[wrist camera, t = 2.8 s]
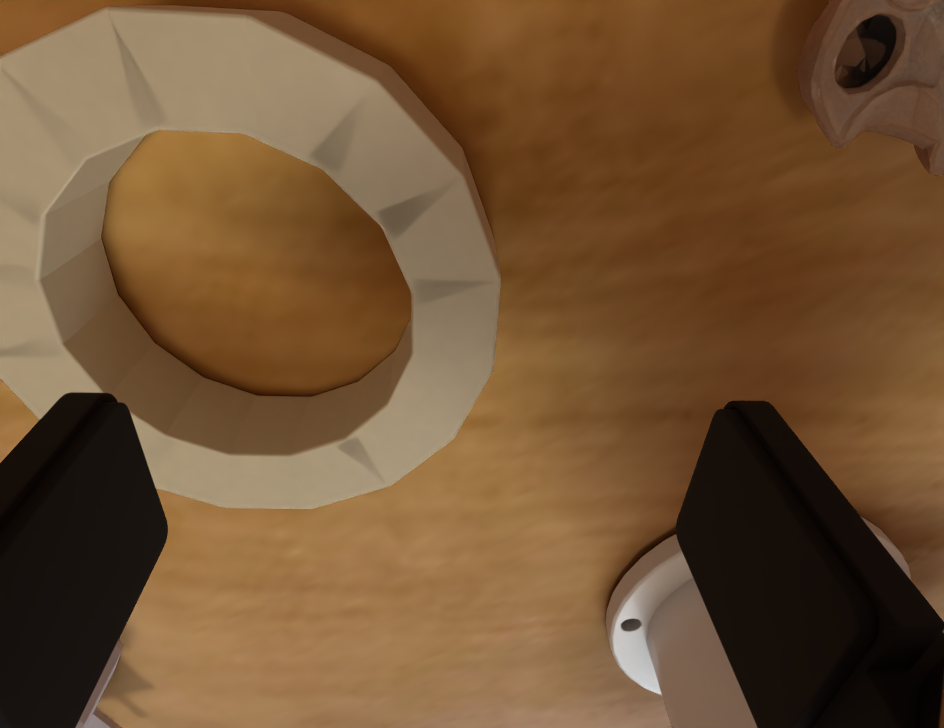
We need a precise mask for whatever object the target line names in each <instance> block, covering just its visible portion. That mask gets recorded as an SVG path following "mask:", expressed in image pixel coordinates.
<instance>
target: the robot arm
mask: <svg viewBox="0 0 944 728" xmlns="http://www.w3.org/2000/svg"><path fill="white" fill-rule="evenodd" d="M167 533H168V525H167V520H166V517H165V514H164V511H163V508H162V505H161V502H160V499H159V496H158V493H157V491H156V488H155V485H154V482H153V479H152V476H151V473H150V470H149V467H148V464H147V461H146V458H145V455H144V452H143V449H142V446H141V443H140V440H139V437H138V434H137V431H136V428H135V425H134V423H133V420H132V417H131V414H130V411H129V409H128V407H127V405H126V404H125V403H122V402H118V401H117V399H116V398H115V397H114V396H113V395H112V394H110V393H86V392H70V393H66V394H64V395H63V396H62V397H61V398H60V399H59V400H58V401H57V402H56V403H55V404H54V405H53V406H52V407H51V408H50V409H49V411H48V412H47V413H46V414H45V415H44V416H43V417H42V418H41V419H40V420H39V422H38V423H37V424H36V425H35V426H34V427H33V428H32V429H31V430H30V431H29V432H28V434H27V435H26V436H25V437H24V438H23V439H22V440H21V441H20V442H19V443H18V445H17V446H16V447H15V448H14V449H13V450H12V451H11V452H10V453H9V454H8V455H7V457H6V458H5V459H4V460H3V461H2V462H1V463H0V728H76V726H77V724H78V722H79V720H80V717H81V715H82V713H83V711H84V709H85V707H86V705H87V703H88V701H89V699H90V697H91V695H92V693H93V691H94V689H95V687H96V685H97V683H98V681H99V679H100V677H101V674H102V672H103V670H104V668H105V666H106V664H107V662H108V660H109V658H110V656H111V654H112V652H113V650H114V648H115V646H116V644H117V642H118V640H119V638H120V636H121V633H122V631H123V629H124V627H125V625H126V623H127V621H128V619H129V617H130V615H131V613H132V611H133V609H134V607H135V605H136V603H137V601H138V599H139V597H140V595H141V593H142V590H143V588H144V586H145V584H146V582H147V580H148V578H149V576H150V574H151V572H152V570H153V568H154V566H155V564H156V562H157V560H158V558H159V556H160V554H161V552H162V549H163V547H164V545H165V543H166V539H167ZM606 630H607V634H608V638H609V643H610V647H611V652H612V654H613V656H614V658H615V660H616V662H617V664H618V666H619V667H620V668H621V669H622V671H623V672H624V673H625V674H626V675H627V676H628V677H629V678H630V679H632V680H633V681H635V682H636V683H638V684H639V685H641V686H642V687H644V688H645V689H648V690H650V691H652V692H655V693H657V694H659V695H662V697H663V700H664V704H665V707H666V710H667V714H668V717H669V720H670V723H671V727H672V728H944V622H943V620H942V619H941V618H940V617H939V615H938V614H937V613H936V612H935V610H934V609H933V608H932V607H931V605H930V604H929V603H928V601H927V600H926V599H925V598H924V596H923V595H922V594H921V593H920V591H919V590H918V589H917V588H916V586H915V585H914V584H913V582H912V581H911V576H910V570H909V567H908V565H907V563H906V561H905V560H904V558H903V556H902V554H901V553H900V551H899V550H898V549H897V548H896V547H895V545H894V544H893V543H892V542H891V541H890V540H889V538H888V537H887V536H886V535H885V534H884V533H883V532H882V530H881V529H879V528H878V527H876V526H875V525H873V524H872V523H870V522H869V521H867V520H866V519H864V518H863V517H860V515H859V514H858V513H857V512H856V510H855V509H854V508H853V507H852V505H851V504H850V503H849V502H848V500H847V499H846V498H845V497H844V495H843V494H842V493H841V491H840V490H839V489H838V488H837V486H836V485H835V484H834V483H833V481H832V480H831V479H830V478H829V476H828V475H827V474H826V472H825V471H824V470H823V469H822V467H821V466H820V465H819V464H818V462H817V461H816V460H815V459H814V457H813V456H812V455H811V454H810V452H809V451H808V450H807V448H806V447H805V446H804V445H803V443H802V442H801V441H800V440H799V438H798V437H797V436H796V435H795V433H794V432H793V431H792V430H791V428H790V427H789V426H788V424H787V423H786V422H785V421H784V419H783V418H782V417H781V416H780V414H779V413H778V412H777V411H776V409H775V408H774V407H773V406H772V405H771V404H770V403H769V402H766V401H730V402H728V403H727V404H726V405H725V407H724V409H719V410H717V411H716V412H715V414H714V416H713V418H712V421H711V424H710V427H709V430H708V433H707V436H706V439H705V441H704V444H703V447H702V450H701V453H700V456H699V459H698V461H697V464H696V467H695V470H694V473H693V476H692V479H691V482H690V484H689V487H688V490H687V493H686V496H685V499H684V502H683V505H682V507H681V510H680V513H679V516H678V519H677V523H676V534H675V535H673V536H671V537H669V538H668V539H666V540H664V541H663V542H661V543H660V544H659V545H657V546H656V547H655V548H653V549H652V550H650V551H649V552H648V553H646V554H645V555H644V556H642V557H641V558H640V559H639V560H638V561H637V563H636V564H635V565H634V566H633V567H632V568H631V569H630V570H629V571H628V572H627V573H626V574H625V575H624V576H623V578H622V579H621V581H620V582H619V584H618V586H617V587H616V589H615V590H614V592H613V594H612V596H611V599H610V602H609V605H608V608H607V613H606Z"/></svg>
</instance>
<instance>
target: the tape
mask: <svg viewBox="0 0 944 728" xmlns="http://www.w3.org/2000/svg"><path fill="white" fill-rule="evenodd" d="M157 130H171V131H193V132H214V133H236V134H244V135H247V136H249V137H251V138H253V139H256V140H258V141H260V142H262V143H264V144H267V145H269V146H271V147H273V148H276V149H278V150H280V151H282V152H285V153H287V154H289V155H291V156H294V157H296V158H298V159H300V160H302V161H305V162H307V163H309V164H311V165H314V166H316V167H318V168H320V169H322V170H323V171H324V172H325V173H327V174H328V175H329V176H330V177H331V178H332V179H333V180H334V181H335V182H336V183H337V184H338V185H339V186H340V187H341V188H342V189H343V190H344V191H345V192H346V193H347V194H348V195H349V196H350V197H351V198H352V199H353V200H354V201H355V202H356V203H357V204H358V205H359V206H360V207H361V208H362V209H363V210H364V211H366V212H367V213H368V214H369V215H370V216H371V217H372V218H373V219H374V220H375V221H376V222H377V223H378V224H379V225H380V226H381V227H382V229H383V231H384V233H385V236H386V238H387V240H388V242H389V244H390V247H391V249H392V251H393V253H394V255H395V258H396V260H397V262H398V264H399V266H400V269H401V271H402V273H403V275H404V277H405V280H406V282H407V284H408V286H409V288H410V291H411V318H410V320H409V323H408V325H407V327H406V329H405V331H404V333H403V335H402V337H401V340H400V342H399V344H398V346H397V348H396V350H395V351H394V352H393V353H392V354H391V355H389V356H388V357H387V358H386V359H385V360H383V361H382V362H381V363H380V364H379V365H377V366H376V367H375V368H374V369H373V370H372V371H370V372H369V373H368V374H367V375H366V376H364V377H363V378H362V379H361V380H360V381H359V382H356V383H353V384H349V385H346V386H343V387H340V388H337V389H334V390H331V391H328V392H325V393H322V394H319V395H316V396H312V397H293V396H257V395H254V394H251V393H248V392H245V391H242V390H239V389H236V388H233V387H230V386H227V385H225V384H222V383H219V382H216V381H213V380H210V379H207V378H204V377H202V376H201V375H199V374H198V373H196V372H195V371H194V370H192V369H191V368H189V367H188V366H186V365H185V364H184V363H182V362H181V361H179V360H178V359H177V358H175V357H174V356H172V355H171V354H170V353H168V352H167V351H165V350H164V349H163V348H161V347H160V346H158V345H157V344H155V343H154V342H153V340H152V339H151V338H150V336H149V335H148V334H147V332H146V331H145V330H144V328H143V327H142V326H141V324H140V323H139V322H138V320H137V319H136V318H135V316H134V315H133V314H132V312H131V311H130V310H129V308H128V307H127V306H126V304H125V303H124V302H123V300H122V299H121V298H120V296H119V295H118V293H117V290H116V287H115V283H114V280H113V276H112V273H111V270H110V266H109V263H108V260H107V256H106V253H105V249H104V246H103V243H102V239H101V234H102V227H103V221H104V214H105V208H106V201H107V194H108V188H109V182H110V180H111V179H112V178H113V177H114V175H115V174H116V173H117V171H118V170H119V169H120V168H121V166H122V165H123V164H124V162H125V161H126V160H127V159H128V157H129V156H130V155H131V153H132V152H133V151H134V150H135V148H136V147H137V146H138V144H139V143H140V142H141V141H142V139H143V138H144V137H145V135H147V134H150V133H152V132H155V131H157ZM500 289H501V275H500V269H499V264H498V258H497V253H496V247H495V242H494V237H493V234H492V231H491V228H490V225H489V222H488V220H487V217H486V214H485V211H484V208H483V205H482V202H481V200H480V197H479V194H478V191H477V188H476V185H475V182H474V180H473V177H472V174H471V171H470V168H469V165H468V162H467V160H466V157H465V154H464V151H463V149H462V147H461V146H460V145H459V144H458V142H457V141H456V140H455V139H454V138H453V137H452V136H451V134H450V133H449V132H448V131H447V130H446V129H445V128H444V126H443V125H442V124H441V123H440V122H439V121H438V120H437V118H436V117H435V116H434V115H433V114H432V113H431V112H430V111H429V109H428V108H427V107H426V106H425V105H424V104H423V103H422V101H421V100H420V99H419V98H418V97H417V96H416V95H415V93H414V92H413V91H412V90H411V89H410V88H409V87H408V85H407V84H406V83H405V82H404V81H403V80H402V79H401V77H400V76H399V75H398V74H397V73H396V72H395V71H394V70H393V68H392V67H391V66H389V65H388V64H386V63H384V62H382V61H380V60H378V59H376V58H374V57H372V56H370V55H368V54H366V53H364V52H362V51H360V50H358V49H356V48H354V47H352V46H351V45H349V44H347V43H345V42H343V41H341V40H339V39H337V38H335V37H333V36H331V35H329V34H327V33H325V32H323V31H321V30H319V29H317V28H315V27H313V26H311V25H309V24H307V23H305V22H303V21H301V20H299V19H297V18H296V17H294V16H292V15H290V14H288V13H283V12H281V11H264V10H246V9H229V8H212V7H194V6H177V5H149V6H110V7H104V8H102V9H99V10H97V11H95V12H93V13H91V14H89V15H87V16H84V17H82V18H80V19H78V20H76V21H74V22H72V23H69V24H67V25H65V26H63V27H61V28H59V29H56V30H54V31H52V32H50V33H48V34H46V35H44V36H41V37H39V38H37V39H35V40H33V41H31V42H29V43H26V44H24V45H22V46H20V47H18V48H16V49H14V50H11V51H9V52H7V53H5V54H3V55H1V56H0V379H1V380H2V381H3V382H4V383H5V384H6V385H7V386H8V387H9V388H10V389H11V390H12V391H13V392H14V394H15V395H16V396H17V397H18V398H19V399H20V400H21V401H22V402H23V403H24V404H25V405H26V406H27V407H28V408H29V409H30V410H31V411H32V412H33V413H34V414H35V416H36V417H37V418H38V419H39V420H40V419H41V418H42V417H43V416H44V415H45V414H46V413H47V412H48V411H49V409H50V408H51V407H52V406H53V405H54V404H55V403H56V402H57V401H58V400H59V399H60V398H61V397H62V396H63V395H64V394H66V393H70V392H86V393H110V394H112V395H113V396H114V397H115V398H116V399H117V401H118V402H122V403H125V404H126V405H127V407H128V409H129V411H130V414H131V417H132V420H133V423H134V425H135V428H136V431H137V434H138V437H139V440H140V443H141V446H142V449H143V452H144V455H145V458H146V461H147V464H148V467H149V470H150V473H151V476H152V479H153V482H154V485H155V488H157V489H160V490H164V491H167V492H171V493H174V494H178V495H181V496H185V497H188V498H192V499H195V500H199V501H202V502H206V503H209V504H213V505H217V506H220V507H224V508H267V509H313V508H317V507H320V506H324V505H327V504H331V503H334V502H337V501H341V500H344V499H348V498H351V497H355V496H358V495H362V494H365V493H368V492H372V491H375V490H379V489H382V488H386V487H389V486H391V485H392V484H394V483H395V482H396V481H398V480H399V479H400V478H402V477H403V476H405V475H406V474H407V473H409V472H410V471H411V470H413V469H414V468H415V467H417V466H418V465H419V464H421V463H422V462H424V461H425V460H426V459H428V458H429V457H430V456H432V455H433V454H434V453H436V452H437V451H439V450H440V449H441V448H443V447H444V446H445V445H447V444H448V443H449V442H451V441H452V440H453V439H454V437H455V436H456V434H457V432H458V431H459V429H460V427H461V425H462V424H463V422H464V420H465V418H466V417H467V415H468V413H469V412H470V410H471V408H472V406H473V405H474V403H475V401H476V400H477V398H478V396H479V394H480V393H481V391H482V389H483V387H484V386H485V384H486V382H487V381H488V379H489V377H490V375H491V374H492V372H493V369H494V361H495V349H496V337H497V325H498V313H499V301H500Z"/></svg>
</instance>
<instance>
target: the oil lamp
mask: <svg viewBox="0 0 944 728" xmlns="http://www.w3.org/2000/svg"><path fill="white" fill-rule="evenodd" d="M797 74H798V80H799V86H800V92H801V97H802V99H803V101H804V102H805V104H806V106H807V107H808V109H809V110H810V112H811V113H812V115H813V117H814V118H815V120H816V121H817V123H818V125H819V127H820V128H821V130H822V131H823V133H824V134H825V136H826V137H827V139H828V140H829V142H830V143H831V145H832V146H833V147H835V148H836V149H837V148H843V147H845V146H846V145H847V144H848V143H849V142H851V141H852V140H853V139H854V138H855V137H857V136H858V135H859V134H860V133H862V132H863V131H869V132H878V133H885V134H888V135H891V136H894V137H897V138H900V139H902V140H904V141H907V142H909V143H911V144H914V147H915V150H916V153H917V156H918V158H919V160H920V161H921V163H922V164H923V166H924V167H925V169H926V170H927V171H928V173H929V174H932V175H944V0H830V2H829V3H828V5H827V6H826V7H825V9H824V10H823V12H822V13H821V15H820V16H819V18H818V19H817V21H816V22H815V24H814V25H813V27H812V28H811V30H810V32H809V35H808V37H807V39H806V41H805V44H804V46H803V48H802V51H801V55H800V60H799V64H798V69H797Z"/></svg>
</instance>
